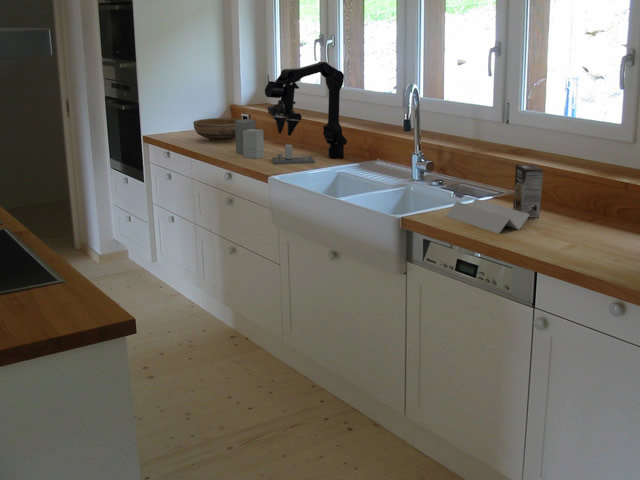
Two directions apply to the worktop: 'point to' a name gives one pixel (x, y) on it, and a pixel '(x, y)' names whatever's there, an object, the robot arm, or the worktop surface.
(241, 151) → the skincare box
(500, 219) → the z bracket
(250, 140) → the supplement box
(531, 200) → the coffee box
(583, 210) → the worktop surface
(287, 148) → the block
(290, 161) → the plate
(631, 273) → the worktop surface
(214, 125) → the wooden bowl
